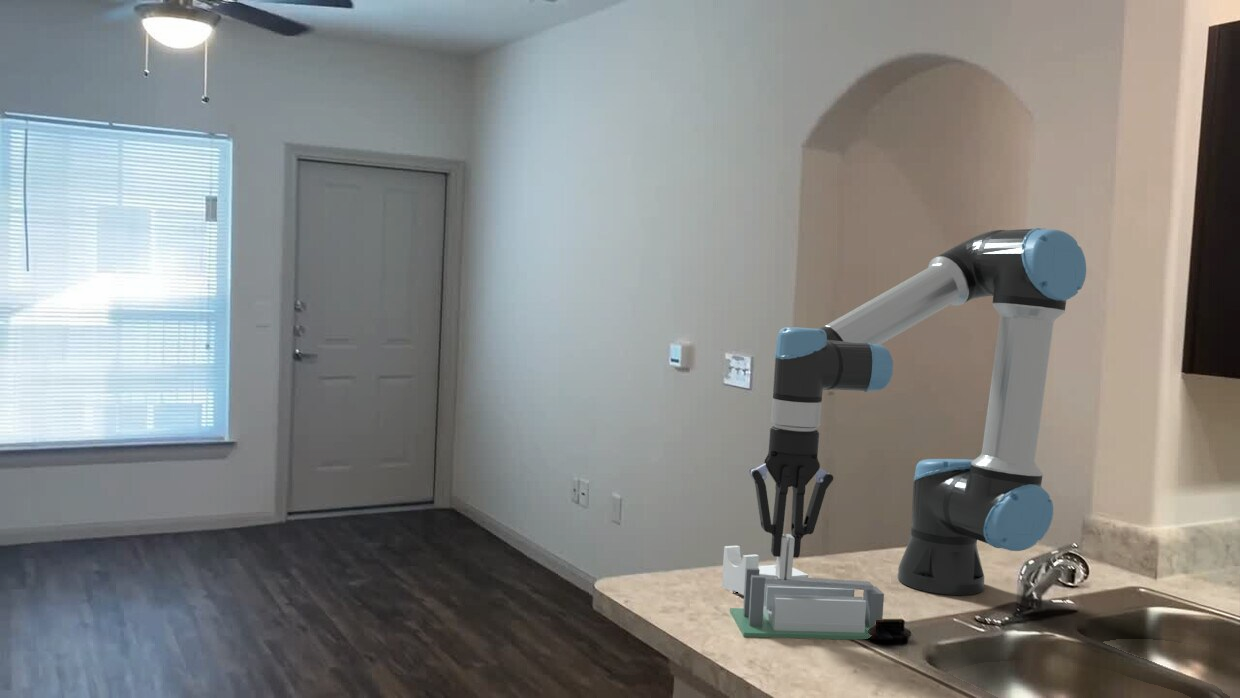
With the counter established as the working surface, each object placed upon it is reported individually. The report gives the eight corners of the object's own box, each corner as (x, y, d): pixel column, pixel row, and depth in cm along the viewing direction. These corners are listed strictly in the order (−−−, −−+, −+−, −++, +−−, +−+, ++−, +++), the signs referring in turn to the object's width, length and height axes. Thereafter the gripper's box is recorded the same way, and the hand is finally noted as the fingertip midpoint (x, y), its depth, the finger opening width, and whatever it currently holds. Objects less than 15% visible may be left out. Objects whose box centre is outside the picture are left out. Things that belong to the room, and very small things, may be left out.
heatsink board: (869, 615, 175) (872, 566, 174) (893, 640, 163) (896, 587, 162) (729, 611, 173) (732, 561, 172) (743, 636, 161) (746, 583, 161)
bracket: (743, 601, 180) (745, 556, 180) (721, 589, 187) (724, 546, 186) (807, 594, 186) (809, 551, 185) (783, 583, 192) (786, 541, 192)
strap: (868, 586, 169) (869, 581, 169) (872, 590, 167) (873, 585, 167) (750, 578, 168) (750, 573, 168) (753, 582, 166) (753, 577, 166)
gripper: (831, 426, 170) (819, 572, 171) (747, 421, 169) (736, 568, 170) (844, 433, 162) (832, 585, 164) (756, 428, 161) (745, 582, 163)
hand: (783, 576), depth 167 cm, fingers closed, pressing on strap
